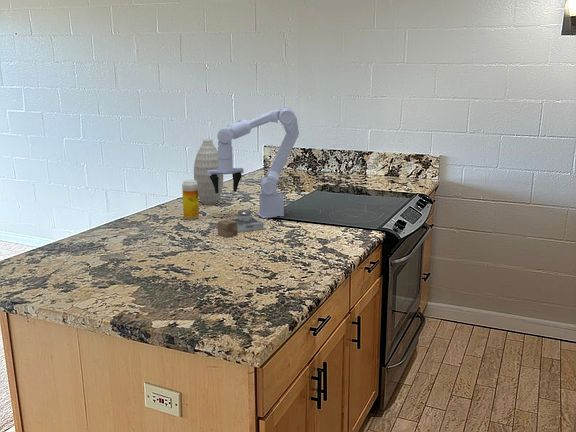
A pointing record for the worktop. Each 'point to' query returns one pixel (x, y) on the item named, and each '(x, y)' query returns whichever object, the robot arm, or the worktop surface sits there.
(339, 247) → the worktop surface
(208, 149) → the vase
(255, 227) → the frame
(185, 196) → the beer can
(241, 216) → the grooved metal cylinder
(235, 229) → the walnut block
